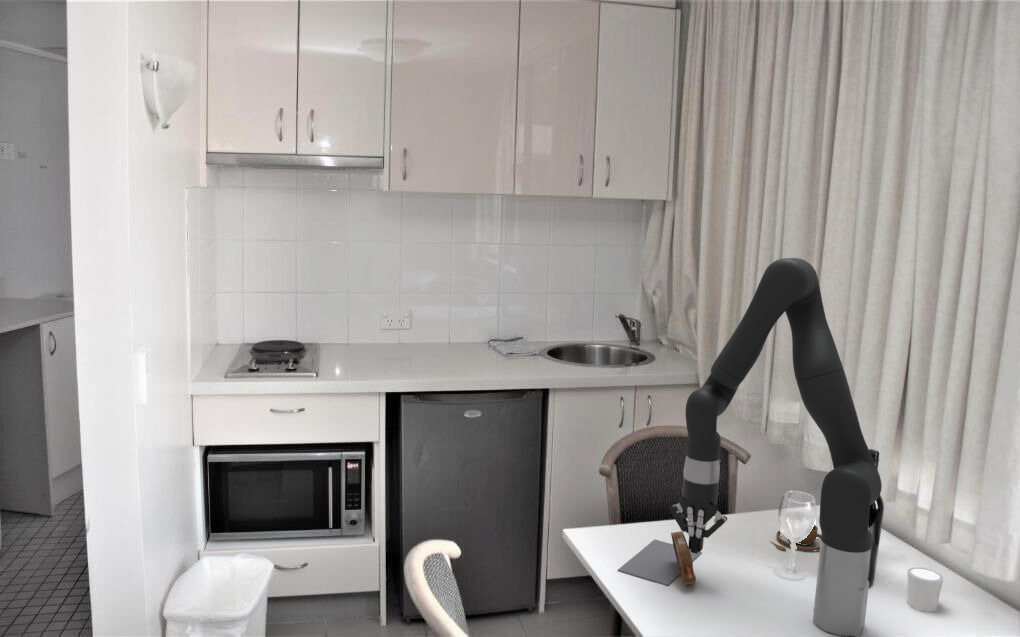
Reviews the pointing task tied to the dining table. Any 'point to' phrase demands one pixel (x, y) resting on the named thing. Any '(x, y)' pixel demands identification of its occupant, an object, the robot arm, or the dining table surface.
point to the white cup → (923, 588)
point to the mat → (655, 563)
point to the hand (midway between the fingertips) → (695, 551)
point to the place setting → (809, 539)
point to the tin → (683, 557)
